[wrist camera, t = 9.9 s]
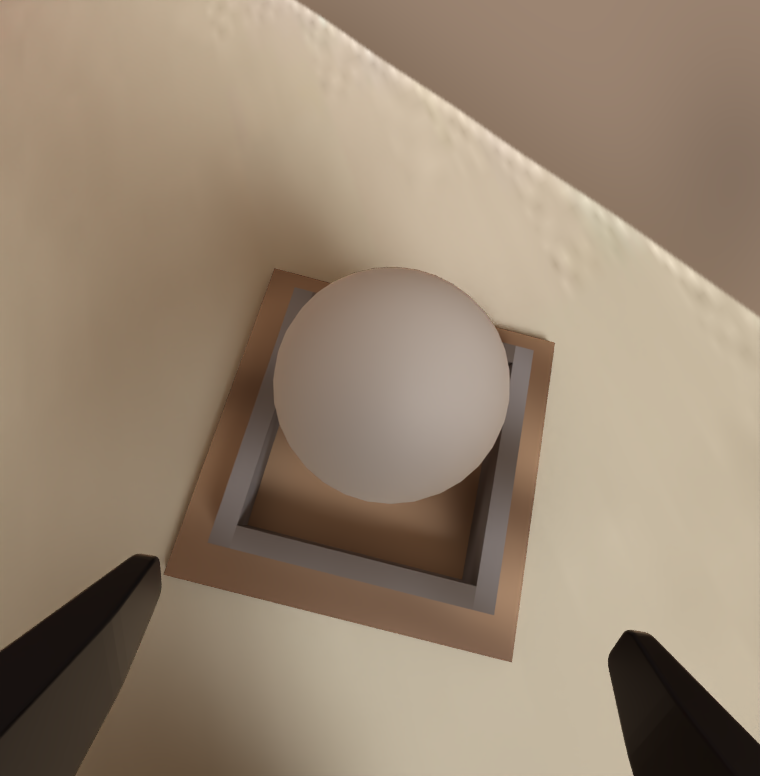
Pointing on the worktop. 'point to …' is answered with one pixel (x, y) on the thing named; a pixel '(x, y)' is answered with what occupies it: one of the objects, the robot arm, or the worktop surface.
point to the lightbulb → (391, 385)
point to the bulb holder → (365, 512)
